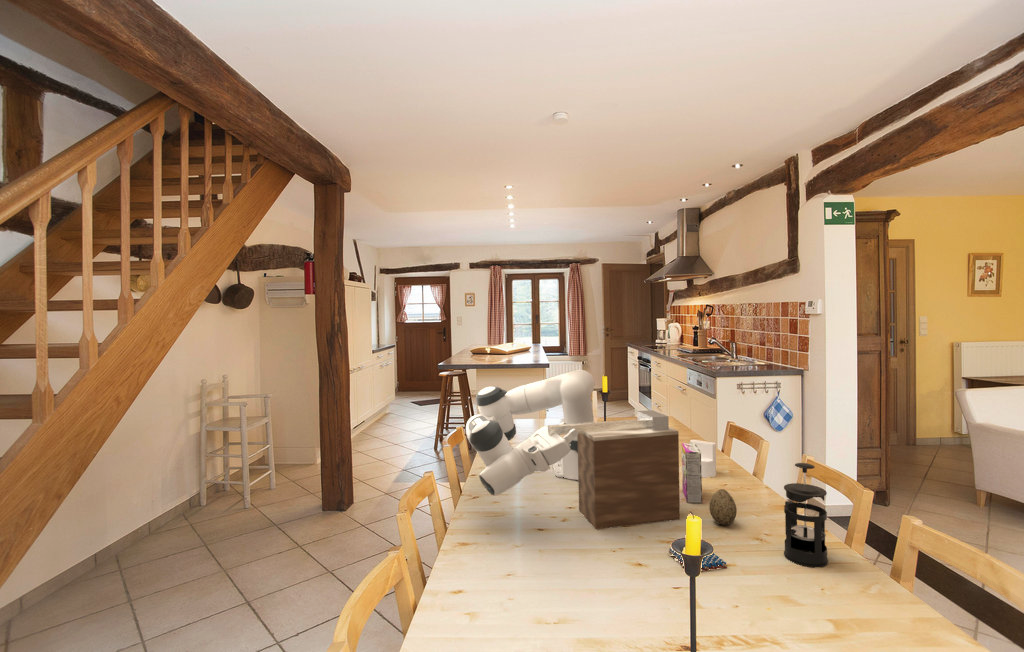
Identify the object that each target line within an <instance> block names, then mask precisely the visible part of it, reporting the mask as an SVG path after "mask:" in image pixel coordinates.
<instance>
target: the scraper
mask: <svg viewBox="0 0 1024 652" xmlns="http://www.w3.org/2000/svg"><path fill="white" fill-rule="evenodd" d="M636 413H637V418H633V419H620V420H606V421H605V420H604V421H594V422H589V423H575V424H561V423H560V424H561V425H559V424H549V425H547V426H548V434H549V435H553V434H554V433H557V434H559V435H560V436H562V435H563V436H564V434H568V433H569V431H570V430H572V429H576V430H577V432H578V433H590V432H603V431H617V430H630V429H643V428H647V429H650V430H652V431H660V430H669V427H670V426H669V416H668V415H666V414H663V413H661V412H658V411H655V410H653V409H648V410H637V411H636Z"/></svg>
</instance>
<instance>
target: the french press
mask: <svg viewBox="0 0 1024 652" xmlns="http://www.w3.org/2000/svg"><path fill="white" fill-rule="evenodd" d="M794 467H796V468H800V469H802V473H803V483H799V482H798V483H797V482H796V483H787V484H785V485H784V486H783V489H784V491H785V496H786V498H787V499H789V500H786V501H785V503H784V504H785V505H784V506H783V513H784V515H785V516H784V517H785V519H784V520H785V521H784V522H785V525H784V527H785V539H784V550H783V556H784V558H785V559H786V560H788V561H789V560H790V561H789V562H791V561H792V562H791V563H793V562H794V563H793V564H795V563H796V565H798V564H799V566H801V565H802V566H801V567H806V566H807V568H815V567H820V568H824V567H827V566H828V565H829V559H828V547H827V545H826V537H827V535H826V521H827V519H828V513H827V510H826V509H825V508H822V507H820V506H819V505H818V506H817V505H814V504H812V503H807V501H808V500H811V499H813V498H821V499H822V501H823V502H825V500H826V499H825V496H827V494H828V493H827V491H826V490H825V489H824V488H822V487H819V486H817V485H814V484H813V485H812V484H807V482H806V477H807V475H806V474H807V473H808V470H809V469H811V470H812V469H815V468H816V467H815V465H813V464H810V463H807V462H797V463H795V464H794ZM798 509H803V511H804V515H803V514H798ZM807 510H811V511H815V512H817V513H818V515H817V516H815V515H814V516H812V515H807ZM798 521H801V522H804V525H803V524H798ZM807 522H808V523H813V526H810V525H809V526H808V525H807ZM815 569H816V568H815Z"/></svg>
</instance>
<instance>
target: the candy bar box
mask: <svg viewBox="0 0 1024 652" xmlns="http://www.w3.org/2000/svg"><path fill="white" fill-rule="evenodd" d="M680 447H681V474H682V475H681V476H682V477H681V479H682V480H681V482H682V492H683V495H684V498H685V500H686V501H685V502H686V503H687V504H703V485H702V484H703V483H702V482H703V478H702V474H701V452H700V450H699V449H698V447H697V445H696V444H693V443H690V442H689V443H688V442H686V443H685V442H682V443H681V444H680Z"/></svg>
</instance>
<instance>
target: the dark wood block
mask: <svg viewBox="0 0 1024 652" xmlns="http://www.w3.org/2000/svg"><path fill="white" fill-rule="evenodd" d="M679 437H680V436H679V430H678V429H675V428H672V427H670V426H669V430H660V431H652V430H650V429H647V428H643V429H630V430H617V431H603V432H590V433H578V435H577V438H578V480H577V481H578V482H577V483H578V511H579V513H581V515H582V514H583V515H584V516H583V515H582V516H583V517H584V518H585V519H586V521H587V522H589V524H590V525H591V524H592V525H591V526H592V527H593V528H594V529H595V530H601V529H602V530H603V529H611V528H610V527H612V528H619V527H618V526H620V527H627V526H629V527H630V526H635V525H636V526H638V525H644V524H652V523H661V522H671V521H677V520H678V521H679V520H680V519H681V511H680V507H681V506H680V504H681V503H680V500H681V499H680V449H679V448H680V445H679V443H680V442H679ZM670 520H671V521H670Z"/></svg>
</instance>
